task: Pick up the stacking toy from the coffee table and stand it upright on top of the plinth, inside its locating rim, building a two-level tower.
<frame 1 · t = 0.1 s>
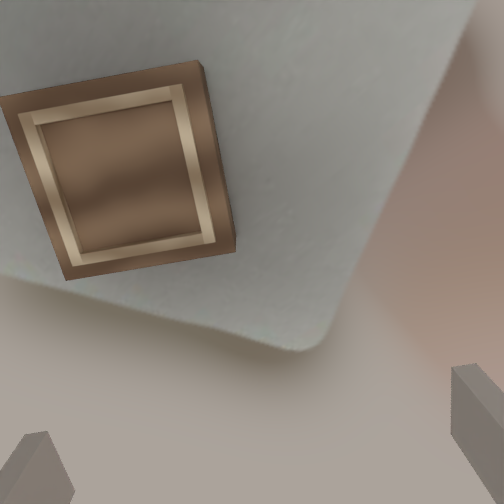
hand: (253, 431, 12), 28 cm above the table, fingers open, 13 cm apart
plinth: (140, 172, 37), on the table
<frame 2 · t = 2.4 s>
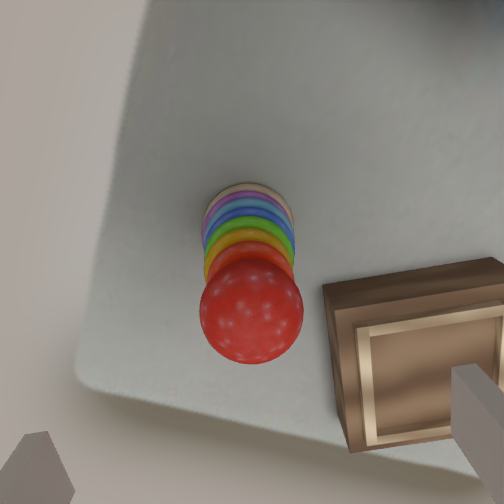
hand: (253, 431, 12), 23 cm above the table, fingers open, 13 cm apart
stacking toy: (248, 225, 34), on the table
plinth: (408, 342, 39), on the table
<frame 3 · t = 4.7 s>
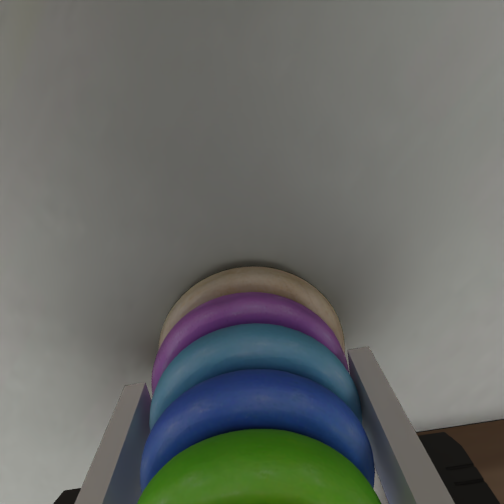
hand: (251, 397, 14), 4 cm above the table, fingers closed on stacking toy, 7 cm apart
stacking toy: (251, 338, 17), on the table, touching gripper
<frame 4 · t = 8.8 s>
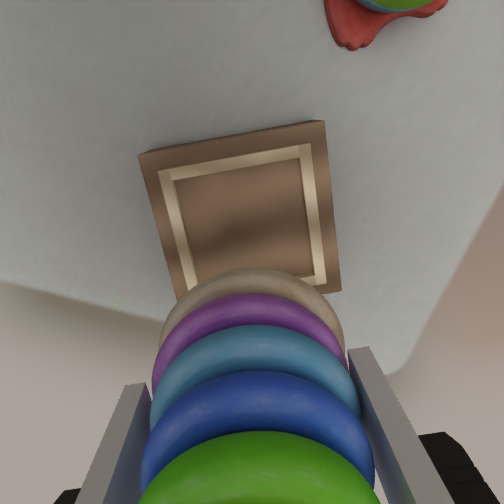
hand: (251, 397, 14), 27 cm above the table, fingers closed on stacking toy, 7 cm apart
stacking toy: (251, 339, 17), point 23 cm above the table, touching gripper
plinth: (246, 214, 39), on the table
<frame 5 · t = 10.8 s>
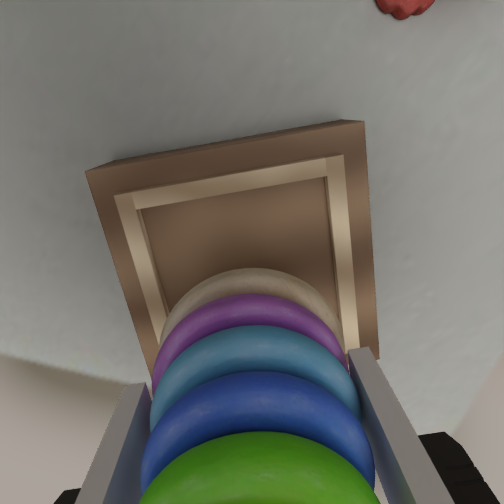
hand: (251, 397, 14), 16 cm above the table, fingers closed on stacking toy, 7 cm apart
stacking toy: (251, 339, 17), point 12 cm above the table, touching gripper
plinth: (246, 248, 29), on the table
when the fingers open (10 cm above the table, at t = 12.8 s): stacking toy drops 1 cm, resting on plinth.
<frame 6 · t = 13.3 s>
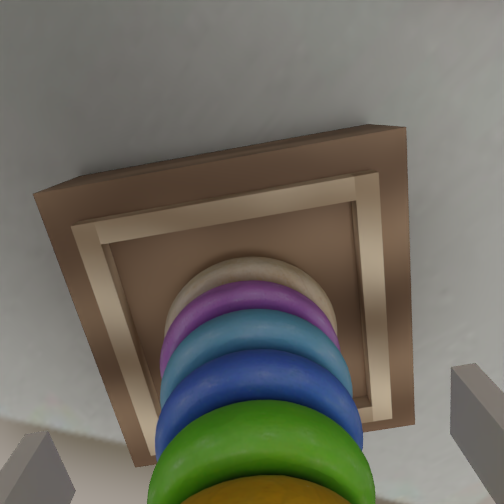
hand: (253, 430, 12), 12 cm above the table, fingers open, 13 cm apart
stacking toy: (250, 323, 19), point 5 cm above the table, touching plinth
plinth: (247, 282, 23), on the table
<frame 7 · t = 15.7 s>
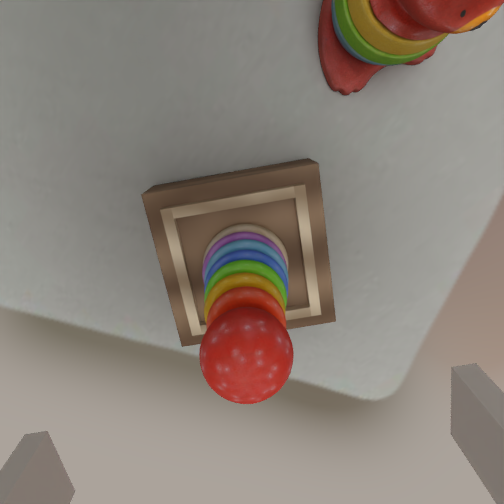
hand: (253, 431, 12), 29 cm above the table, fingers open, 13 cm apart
stacking toy: (245, 261, 36), point 5 cm above the table, touching plinth
plinth: (244, 246, 41), on the table
stacking bear: (369, 23, 35), on the table
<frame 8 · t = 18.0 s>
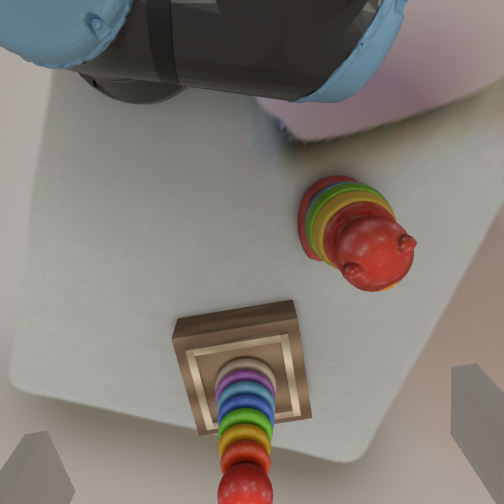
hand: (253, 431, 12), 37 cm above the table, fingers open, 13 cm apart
stacking toy: (245, 379, 50), point 5 cm above the table, touching plinth
plinth: (244, 357, 55), on the table
stacking bear: (335, 213, 48), on the table
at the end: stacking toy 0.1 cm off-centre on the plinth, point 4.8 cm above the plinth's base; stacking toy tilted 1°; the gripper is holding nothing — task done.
